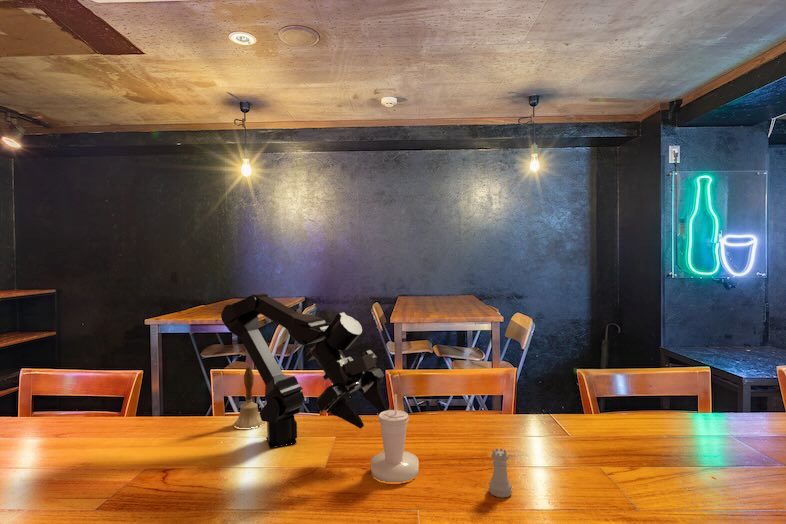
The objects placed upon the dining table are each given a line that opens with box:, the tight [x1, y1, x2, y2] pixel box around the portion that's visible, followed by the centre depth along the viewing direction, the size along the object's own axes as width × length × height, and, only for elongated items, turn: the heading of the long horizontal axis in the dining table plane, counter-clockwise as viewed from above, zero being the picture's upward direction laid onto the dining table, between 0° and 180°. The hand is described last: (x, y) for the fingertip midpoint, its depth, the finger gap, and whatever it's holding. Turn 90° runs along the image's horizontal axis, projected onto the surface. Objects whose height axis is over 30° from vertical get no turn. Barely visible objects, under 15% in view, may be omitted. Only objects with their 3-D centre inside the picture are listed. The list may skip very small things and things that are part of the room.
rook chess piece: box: [488, 448, 513, 499], centre depth 86 cm, size 4×4×8 cm
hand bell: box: [233, 366, 266, 428], centre depth 124 cm, size 8×8×16 cm
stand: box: [370, 450, 420, 482], centre depth 94 cm, size 10×10×2 cm
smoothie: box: [378, 394, 410, 465], centre depth 94 cm, size 6×6×14 cm
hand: (374, 420), depth 97 cm, fingers open, 9 cm apart
